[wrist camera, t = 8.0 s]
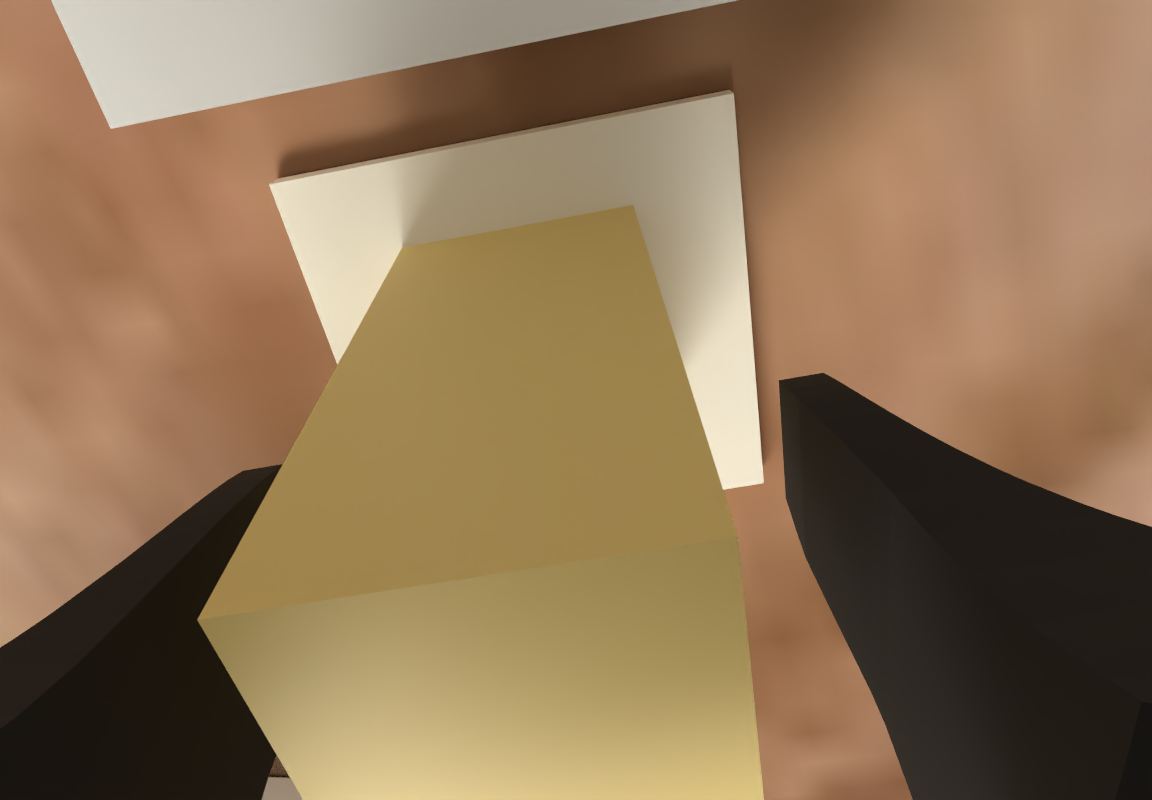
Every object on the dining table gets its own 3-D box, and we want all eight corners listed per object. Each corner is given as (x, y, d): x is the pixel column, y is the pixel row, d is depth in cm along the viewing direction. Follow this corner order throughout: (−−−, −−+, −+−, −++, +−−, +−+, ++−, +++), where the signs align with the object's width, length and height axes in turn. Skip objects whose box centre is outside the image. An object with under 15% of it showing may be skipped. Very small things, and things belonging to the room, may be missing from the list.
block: (632, 204, 13) (737, 536, 6) (662, 408, 16) (769, 857, 8) (401, 247, 14) (196, 620, 6) (460, 441, 16) (365, 908, 8)
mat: (729, 89, 13) (734, 93, 13) (759, 472, 17) (763, 483, 17) (276, 178, 14) (269, 184, 13) (406, 529, 17) (403, 540, 17)
